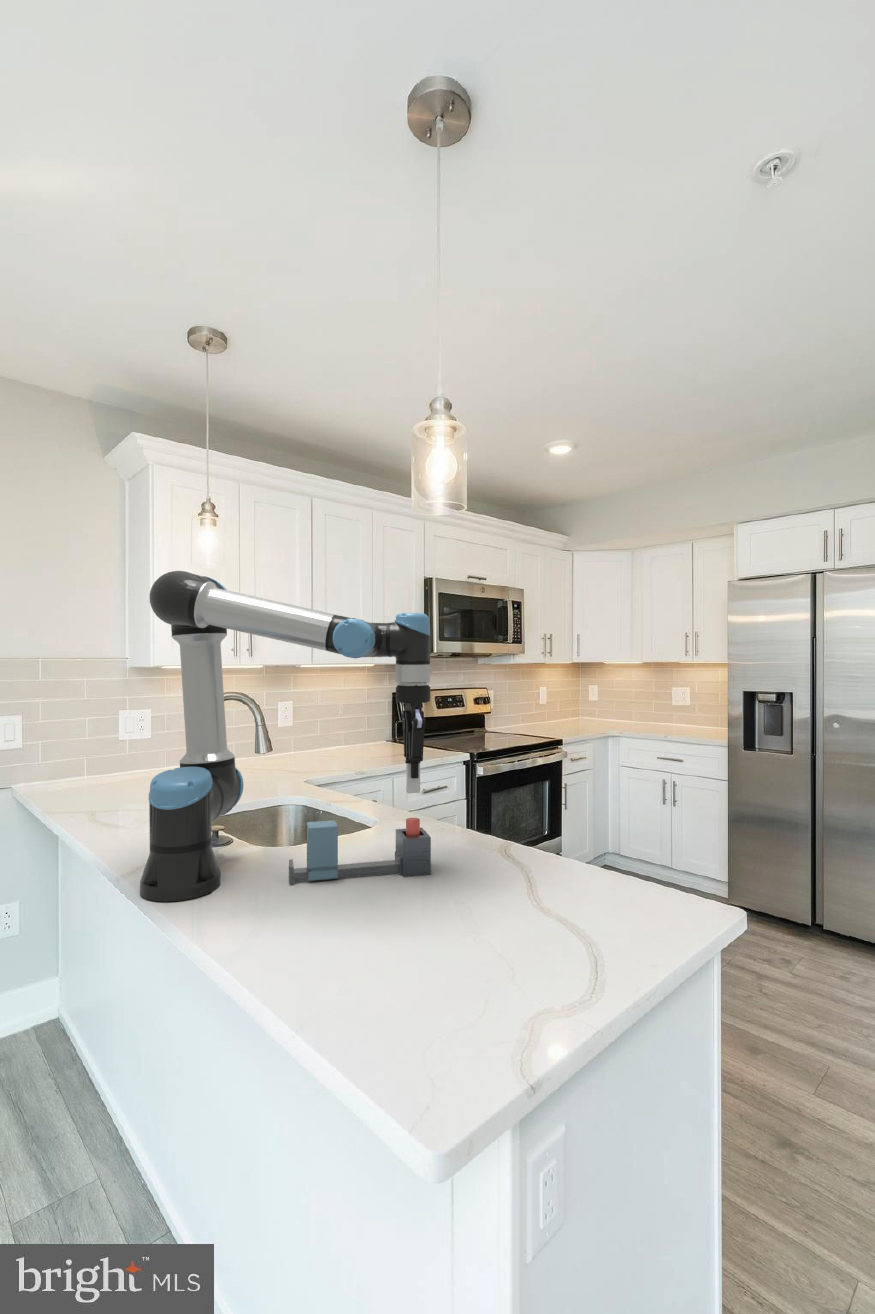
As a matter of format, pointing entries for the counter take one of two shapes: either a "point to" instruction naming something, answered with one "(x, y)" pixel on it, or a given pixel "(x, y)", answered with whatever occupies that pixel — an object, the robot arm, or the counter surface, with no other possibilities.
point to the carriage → (322, 850)
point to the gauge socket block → (414, 853)
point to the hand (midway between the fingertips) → (413, 792)
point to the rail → (351, 870)
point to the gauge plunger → (412, 827)
